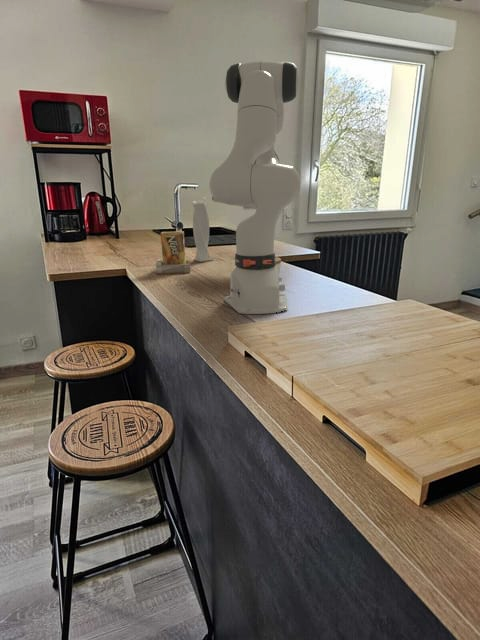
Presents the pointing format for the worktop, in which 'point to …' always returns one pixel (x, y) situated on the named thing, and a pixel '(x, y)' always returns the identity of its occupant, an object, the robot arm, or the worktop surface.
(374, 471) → the worktop surface
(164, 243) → the candy box
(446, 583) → the worktop surface
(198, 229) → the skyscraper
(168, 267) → the channel
